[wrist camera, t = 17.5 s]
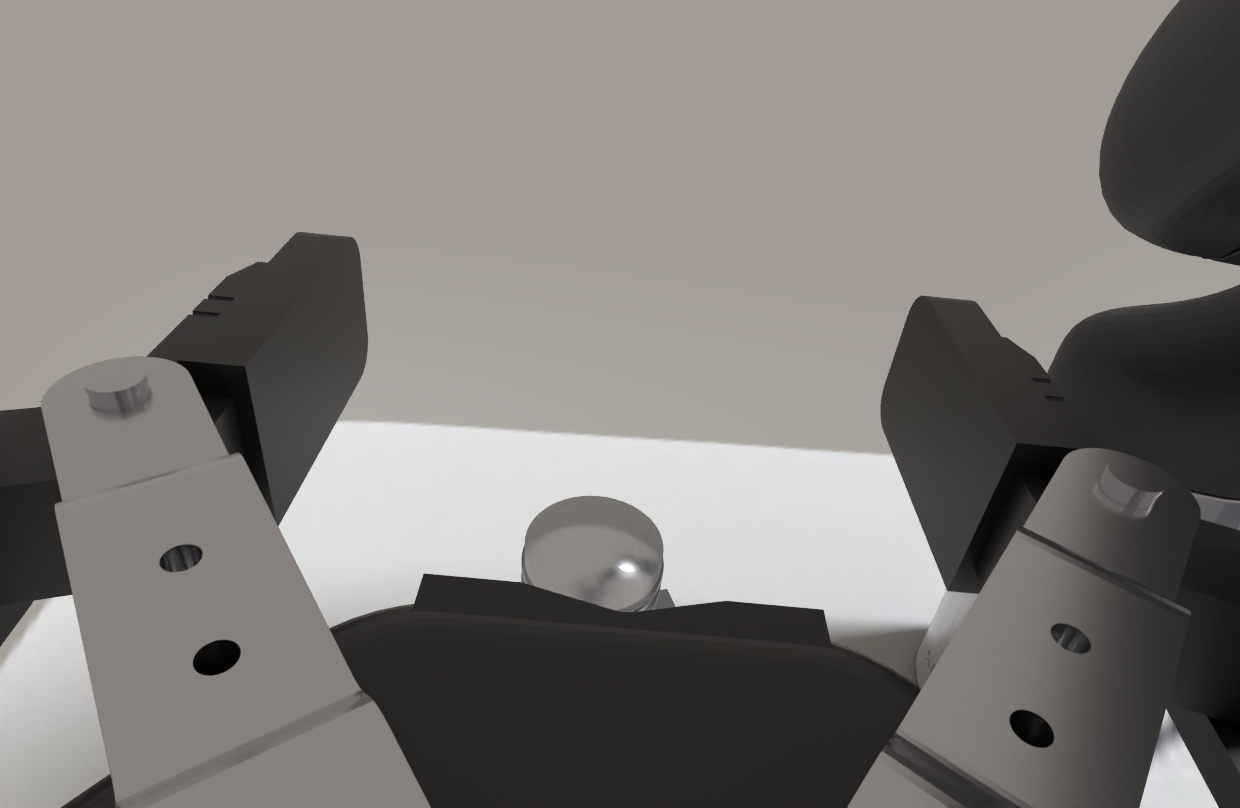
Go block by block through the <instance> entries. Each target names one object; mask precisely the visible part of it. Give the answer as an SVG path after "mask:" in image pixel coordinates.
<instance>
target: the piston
mask: <svg viewBox="0 0 1240 808" xmlns="http://www.w3.org/2000/svg"><path fill="white" fill-rule="evenodd" d="M663 567H664V563H663V542H662V538H661V535H660V533H659V530H658V529H657V527H656V526H655V524H654V523H653V522H652V521H651V519H650V518H649V517H647V516H646V515H645V514H644V513H643V512H641V511H640V510H638V509H637V508H635V507H633V506H631V505H629V504H627V503H625V502H622V501H619V500H616V499H612V498H607V497H600V496H581V497H574V498H569V499H565V500H562V501H559V502H557V503H555V504H553V505H551V506H549V507H547V508H546V509H544V510H543V511H542V512H541V513H539V514H538V515H537V516H536V517H535V518H534V520H533V521H532V523H531V524H530V526H529V528H528V530H527V533H526V537H525V545H524V548H523V552H522V574H521V582H522V583H526V584H529V585H532V586H536V587H539V588H542V589H546V590H549V591H552V592H556V593H559V594H562V595H566V596H569V597H572V598H576V599H579V600H582V601H585V602H589V603H592V604H595V605H599V606H602V607H605V608H609V609H612V610H616V611H620V612H638V611H646V610H654V608H655V605H656V603H657V601H658V597H659V593H660V587H661V580H662V575H663Z"/></svg>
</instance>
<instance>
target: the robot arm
mask: <svg viewBox="0 0 1240 808" xmlns="http://www.w3.org/2000/svg"><path fill="white" fill-rule="evenodd" d="M1099 176H1100V182H1101V188H1102V194H1103V197H1104V199H1105V201H1106V204H1107V206H1108V208H1109V210H1110V212H1111V213H1112V215H1113V216H1114V217H1115V219H1116V220H1117V221H1118V222H1119V223H1120V224H1121V225H1122V226H1123V227H1124V228H1125V229H1126V230H1128V231H1129V232H1131V233H1133V234H1135V235H1136V236H1138V237H1140V238H1142V239H1144V240H1146V241H1148V242H1150V243H1152V244H1155V245H1157V246H1159V247H1162V248H1165V249H1168V250H1171V251H1174V252H1178V253H1182V254H1187V255H1191V256H1198V257H1202V258H1204V259H1211V260H1214V261H1219V262H1224V263H1229V264H1234V265H1239V266H1240V0H1180V1H1179V2H1178V3H1177V5H1176V6H1175V7H1174V8H1173V9H1172V10H1171V12H1170V13H1169V14H1168V15H1167V16H1166V18H1165V19H1164V21H1163V22H1162V24H1161V25H1160V26H1159V28H1158V29H1157V31H1156V32H1155V33H1154V35H1153V36H1152V38H1151V39H1150V41H1149V42H1148V43H1147V45H1146V46H1145V48H1144V49H1143V51H1142V52H1141V54H1140V55H1139V57H1138V59H1137V60H1136V62H1135V64H1134V66H1133V67H1132V69H1131V71H1130V72H1129V74H1128V76H1127V78H1126V80H1125V82H1124V84H1123V86H1122V88H1121V90H1120V92H1119V94H1118V96H1117V99H1116V101H1115V103H1114V105H1113V108H1112V110H1111V113H1110V115H1109V118H1108V121H1107V124H1106V128H1105V131H1104V135H1103V139H1102V145H1101V150H1100V168H1099ZM365 313H366V312H365V302H364V292H363V281H362V271H361V261H360V253H359V248H358V245H357V243H356V241H355V239H354V238H352V237H345V236H335V235H324V234H314V233H305V232H298V233H296V234H295V235H294V236H293V237H292V238H291V239H290V240H289V241H288V242H287V243H286V244H285V245H284V246H283V247H282V249H280V251H279V252H278V253H277V254H276V255H275V256H274V257H273V258H272V259H271V260H270V261H269V262H268V263H264V262H257V263H255V264H253V265H251V266H248V267H246V268H245V269H242V270H240V271H238V272H236V273H233V274H231V275H229V276H227V277H226V278H225V279H224V280H223V281H222V282H221V283H220V284H219V285H218V286H217V287H216V288H215V289H214V290H213V291H212V292H211V293H210V294H209V295H208V299H204V300H203V301H202V302H201V303H200V304H199V305H198V306H197V307H196V308H195V309H194V310H193V315H188V316H187V317H186V318H185V319H184V320H183V321H182V322H181V323H180V324H179V325H178V326H177V327H176V328H175V329H174V330H173V331H172V332H171V333H170V334H169V335H168V336H167V337H166V338H165V339H164V340H163V341H162V342H161V343H160V344H159V345H158V346H157V347H156V348H155V349H154V350H153V351H152V352H151V353H150V354H149V355H148V356H147V357H124V358H117V359H110V360H106V361H102V362H98V363H94V364H91V365H88V366H85V367H83V368H80V369H78V370H75V371H73V372H71V373H69V374H67V375H66V376H64V377H62V378H61V379H60V380H58V381H57V382H56V383H54V384H53V385H52V386H51V387H50V388H49V389H48V390H47V391H46V393H45V394H44V396H43V399H42V401H41V407H37V408H27V409H17V410H4V411H0V646H1V645H2V643H3V642H4V641H5V639H6V638H7V637H8V635H9V634H10V632H11V631H12V630H13V629H14V627H15V626H16V625H17V623H18V622H19V620H20V619H21V618H22V616H23V615H24V614H25V612H26V611H27V610H28V608H29V607H30V606H31V604H32V602H33V601H34V600H40V599H46V598H53V597H60V596H66V595H73V599H74V603H75V608H76V613H77V618H78V622H79V627H80V632H81V636H82V641H83V646H84V651H85V655H86V660H87V665H88V669H89V674H90V679H91V684H92V688H93V693H94V698H95V703H96V707H97V712H98V717H99V721H100V726H101V731H102V736H103V740H104V745H105V750H106V754H107V759H108V764H109V769H110V773H111V774H109V775H108V776H106V777H105V778H103V779H102V780H100V781H99V782H98V783H96V784H95V785H93V786H92V787H90V788H89V789H87V790H86V791H84V792H83V793H81V794H80V795H79V796H77V797H76V798H74V799H73V800H71V801H70V802H68V803H67V804H65V805H64V806H62V807H61V808H1139V806H1140V803H1141V799H1142V795H1143V792H1144V788H1145V784H1146V781H1147V777H1148V773H1149V769H1150V766H1151V762H1152V758H1153V755H1154V751H1155V747H1156V743H1157V740H1158V736H1159V732H1160V729H1161V725H1162V721H1163V718H1164V714H1165V710H1166V709H1167V711H1168V713H1169V715H1170V717H1171V719H1172V721H1173V722H1174V724H1175V726H1176V728H1177V730H1178V732H1179V734H1180V736H1181V737H1182V739H1183V741H1184V743H1185V745H1186V747H1187V749H1188V751H1189V752H1190V754H1191V756H1192V758H1193V760H1194V762H1195V764H1196V765H1197V767H1198V769H1199V771H1200V773H1201V775H1202V777H1203V779H1204V780H1205V782H1206V784H1207V786H1208V788H1209V790H1210V792H1211V794H1212V795H1213V797H1214V799H1215V801H1216V803H1217V805H1218V807H1219V808H1240V285H1238V286H1235V287H1233V288H1230V289H1227V290H1224V291H1221V292H1218V293H1215V294H1211V295H1208V296H1204V297H1200V298H1195V299H1190V300H1185V301H1179V302H1172V303H1163V304H1152V305H1141V306H1131V307H1122V308H1117V309H1111V310H1107V311H1103V312H1100V313H1097V314H1094V315H1092V316H1090V317H1088V318H1086V319H1084V320H1082V321H1081V322H1080V323H1078V324H1077V325H1075V327H1073V328H1072V329H1071V331H1070V332H1069V333H1068V334H1067V336H1066V337H1065V338H1064V340H1063V342H1062V344H1061V346H1060V347H1059V349H1058V351H1057V353H1056V355H1055V358H1054V360H1053V362H1052V364H1051V366H1050V368H1049V370H1048V373H1046V372H1045V370H1044V369H1043V368H1042V366H1041V365H1040V364H1039V362H1038V361H1037V360H1036V358H1035V357H1033V356H1032V355H1030V354H1029V353H1027V352H1026V351H1025V350H1023V349H1022V348H1020V347H1019V346H1017V345H1016V344H1015V343H1013V342H1012V341H1010V340H1009V339H1008V338H1005V337H1001V336H1000V334H999V333H998V331H997V330H996V329H995V327H994V326H993V325H992V323H991V322H990V320H989V319H988V318H987V316H986V315H985V313H984V312H983V311H982V309H981V308H980V306H979V305H978V304H977V303H976V302H975V301H969V300H960V299H949V298H939V297H930V296H920V297H918V298H917V299H916V300H915V302H914V303H913V305H912V307H911V309H910V311H909V314H908V316H907V320H906V322H905V325H904V328H903V331H902V334H901V337H900V341H899V343H898V347H897V349H896V352H895V355H894V359H893V362H892V364H891V368H890V370H889V373H888V376H887V379H886V382H885V385H884V389H883V393H882V399H881V423H882V428H883V431H884V433H885V436H886V438H887V441H888V443H889V446H890V448H891V451H892V453H893V456H894V458H895V461H896V463H897V466H898V468H899V471H900V473H901V476H902V478H903V481H904V483H905V486H906V488H907V491H908V493H909V496H910V498H911V501H912V503H913V506H914V508H915V511H916V513H917V516H918V518H919V521H920V523H921V526H922V528H923V531H924V533H925V536H926V538H927V541H928V543H929V546H930V549H931V551H932V554H933V556H934V559H935V561H936V564H937V566H938V569H939V571H940V574H941V576H942V579H943V581H944V584H945V586H946V589H947V590H946V592H945V594H944V596H943V598H942V600H941V603H940V605H939V607H938V609H937V611H936V613H935V616H934V618H933V620H932V622H931V624H930V626H929V628H928V631H927V633H926V635H925V637H924V639H923V641H922V643H921V646H920V648H919V650H918V652H917V658H916V664H915V667H916V676H917V682H918V685H919V687H920V688H919V687H918V686H916V685H915V684H914V683H912V682H911V681H910V680H908V679H907V678H905V677H904V676H902V675H900V674H899V673H897V672H896V671H894V670H892V669H891V668H889V667H888V666H886V665H884V664H882V663H880V662H878V661H876V660H874V659H872V658H870V657H868V656H866V655H864V654H862V653H859V652H857V651H855V650H852V649H850V648H847V647H845V646H842V645H839V644H836V643H833V642H830V637H829V633H828V628H827V624H826V619H825V615H824V611H823V610H820V609H809V608H798V607H787V606H776V605H765V604H754V603H743V602H732V601H722V602H714V603H705V604H697V605H688V606H680V607H671V608H663V609H655V610H646V611H638V612H620V611H616V610H612V609H609V608H605V607H602V606H599V605H595V604H592V603H589V602H585V601H582V600H579V599H576V598H572V597H569V596H566V595H562V594H559V593H556V592H552V591H549V590H546V589H542V588H539V587H536V586H532V585H529V584H526V583H522V582H511V581H500V580H488V579H477V578H466V577H455V576H444V575H433V574H424V575H423V578H422V581H421V584H420V587H419V590H418V594H417V597H416V600H415V603H414V604H412V605H404V606H398V607H393V608H388V609H384V610H379V611H375V612H372V613H369V614H366V615H362V616H359V617H356V618H353V619H350V620H348V621H346V622H343V623H341V624H339V625H336V626H334V627H332V628H329V627H328V625H327V623H326V621H325V619H324V617H323V615H322V613H321V611H320V609H319V607H318V605H317V603H316V601H315V599H314V597H313V595H312V593H311V591H310V589H309V587H308V585H307V583H306V581H305V579H304V577H303V575H302V573H301V571H300V569H299V567H298V565H297V563H296V561H295V559H294V557H293V555H292V553H291V551H290V549H289V547H288V545H287V543H286V541H285V539H284V537H283V535H282V533H281V531H280V530H279V528H278V526H279V524H280V522H281V521H282V519H283V517H284V515H285V513H286V512H287V510H288V508H289V506H290V504H291V503H292V501H293V499H294V497H295V495H296V494H297V492H298V490H299V488H300V486H301V485H302V483H303V481H304V479H305V477H306V476H307V474H308V472H309V470H310V468H311V467H312V465H313V463H314V461H315V459H316V458H317V456H318V454H319V452H320V450H321V449H322V447H323V445H324V443H325V441H326V440H327V438H328V436H329V434H330V432H331V431H332V429H333V427H334V425H335V423H336V422H337V420H338V418H339V416H340V414H341V413H342V411H343V409H344V407H345V406H346V404H347V402H348V400H349V398H350V396H351V395H352V393H353V391H354V389H355V387H356V386H357V384H358V382H359V380H360V379H361V376H362V374H363V371H364V368H365V364H366V358H367V350H368V333H367V323H366V314H365Z"/></svg>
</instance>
